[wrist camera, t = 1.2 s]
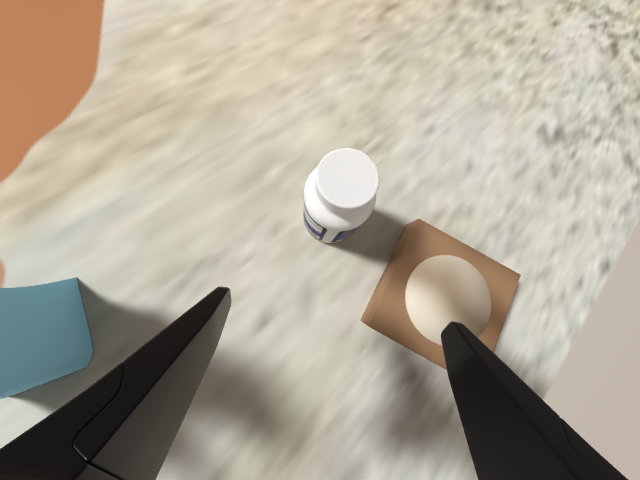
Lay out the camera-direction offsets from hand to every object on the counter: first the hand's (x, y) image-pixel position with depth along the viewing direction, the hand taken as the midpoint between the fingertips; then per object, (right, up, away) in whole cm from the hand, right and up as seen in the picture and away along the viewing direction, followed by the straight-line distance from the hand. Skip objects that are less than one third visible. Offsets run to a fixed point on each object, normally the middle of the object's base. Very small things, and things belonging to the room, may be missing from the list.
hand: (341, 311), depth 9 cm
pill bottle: (0, +5, +14) cm, 15 cm away
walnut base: (+10, -3, +14) cm, 18 cm away
